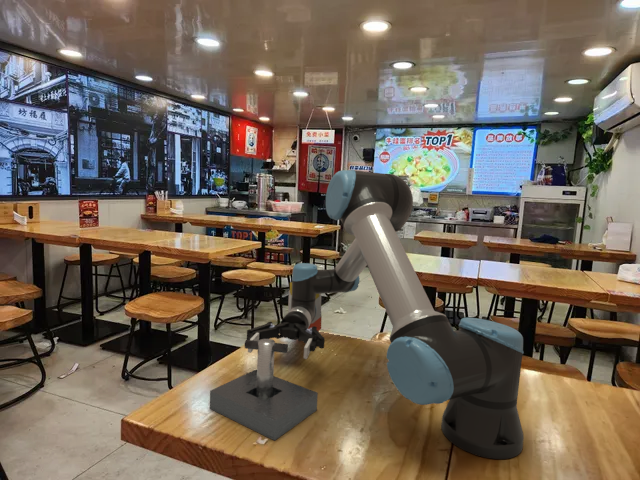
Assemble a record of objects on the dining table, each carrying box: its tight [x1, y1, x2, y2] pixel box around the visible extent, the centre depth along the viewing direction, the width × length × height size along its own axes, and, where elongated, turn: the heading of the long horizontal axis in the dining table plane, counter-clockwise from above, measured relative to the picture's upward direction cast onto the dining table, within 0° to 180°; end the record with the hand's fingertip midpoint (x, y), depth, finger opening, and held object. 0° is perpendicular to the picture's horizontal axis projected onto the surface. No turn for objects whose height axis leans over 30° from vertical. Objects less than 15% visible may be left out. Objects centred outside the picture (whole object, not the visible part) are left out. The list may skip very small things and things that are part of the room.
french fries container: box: [287, 281, 323, 332], centre depth 132 cm, size 5×11×18 cm, turn 96°
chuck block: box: [209, 368, 319, 442], centre depth 85 cm, size 18×14×4 cm
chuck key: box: [244, 338, 289, 401], centre depth 85 cm, size 9×4×15 cm, turn 81°
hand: (277, 350), depth 94 cm, fingers open, 13 cm apart
